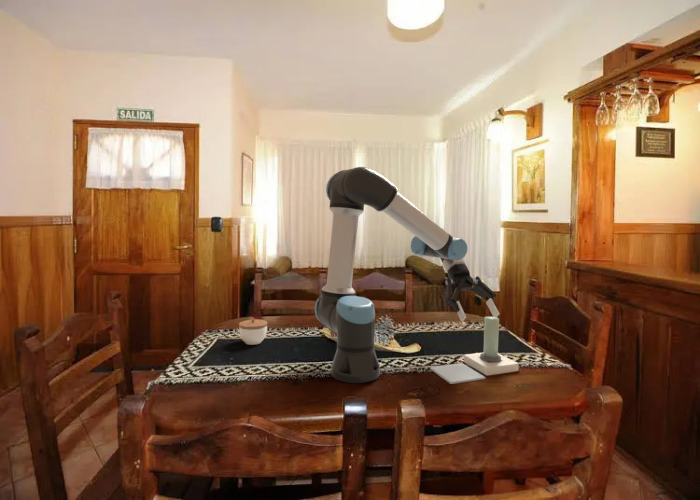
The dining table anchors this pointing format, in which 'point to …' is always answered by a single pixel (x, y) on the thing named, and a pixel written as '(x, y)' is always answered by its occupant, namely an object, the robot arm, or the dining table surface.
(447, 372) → the mat
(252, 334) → the lidded jar
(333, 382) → the dining table surface
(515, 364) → the socket block
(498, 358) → the candle in holder
